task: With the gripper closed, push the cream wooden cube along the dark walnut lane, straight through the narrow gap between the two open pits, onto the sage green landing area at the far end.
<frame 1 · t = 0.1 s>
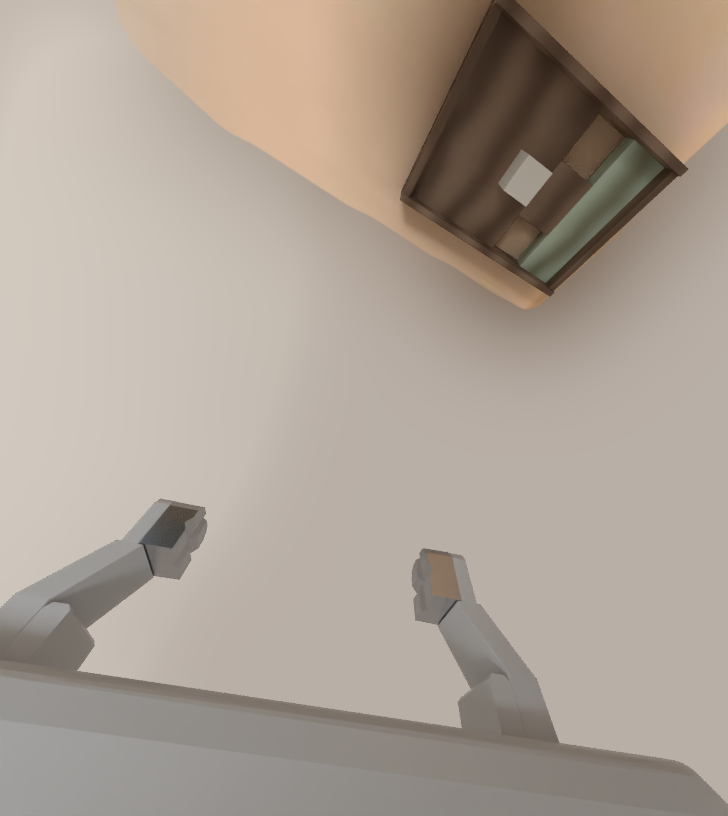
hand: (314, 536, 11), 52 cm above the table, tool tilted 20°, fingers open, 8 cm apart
dark brown rimmed tray: (523, 177, 41), on the table
block: (520, 175, 39), point 2 cm above the table, touching dark brown rimmed tray
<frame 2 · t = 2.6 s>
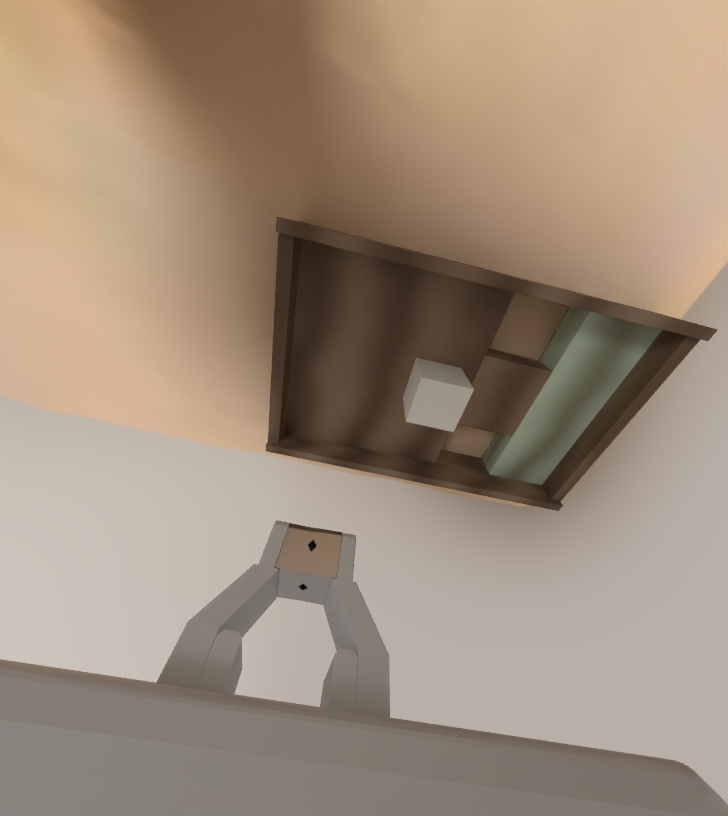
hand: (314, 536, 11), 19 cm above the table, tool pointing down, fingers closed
dark brown rimmed tray: (442, 375, 27), on the table
block: (430, 383, 25), point 2 cm above the table, touching dark brown rimmed tray
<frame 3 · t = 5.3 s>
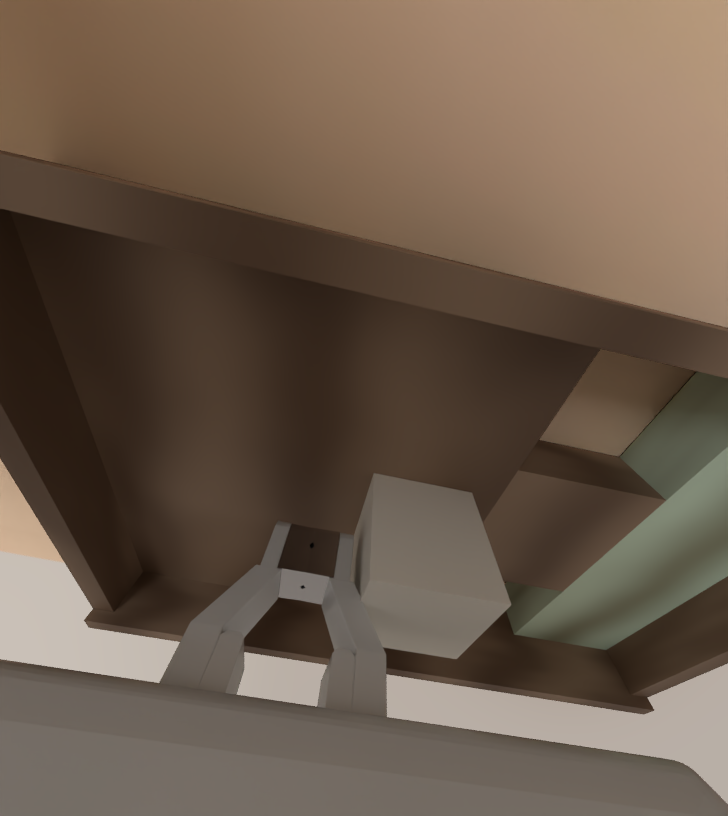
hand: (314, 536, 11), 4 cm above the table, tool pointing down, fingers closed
dark brown rimmed tray: (427, 477, 14), on the table
block: (408, 515, 12), point 3 cm above the table, touching gripper
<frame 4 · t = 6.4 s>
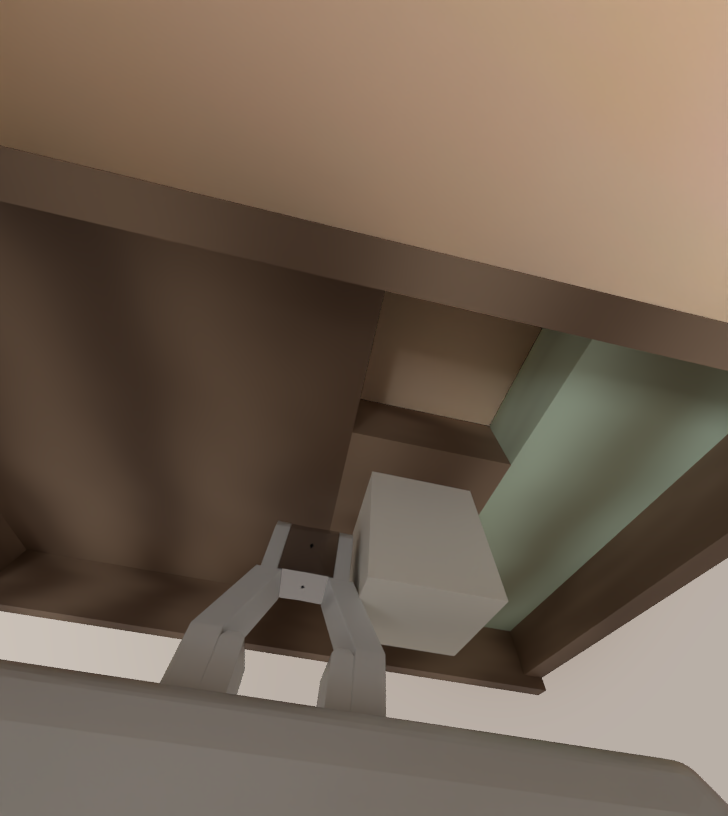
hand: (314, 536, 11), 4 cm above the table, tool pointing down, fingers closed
dark brown rimmed tray: (304, 450, 14), on the table
block: (407, 513, 12), point 2 cm above the table, touching dark brown rimmed tray, gripper
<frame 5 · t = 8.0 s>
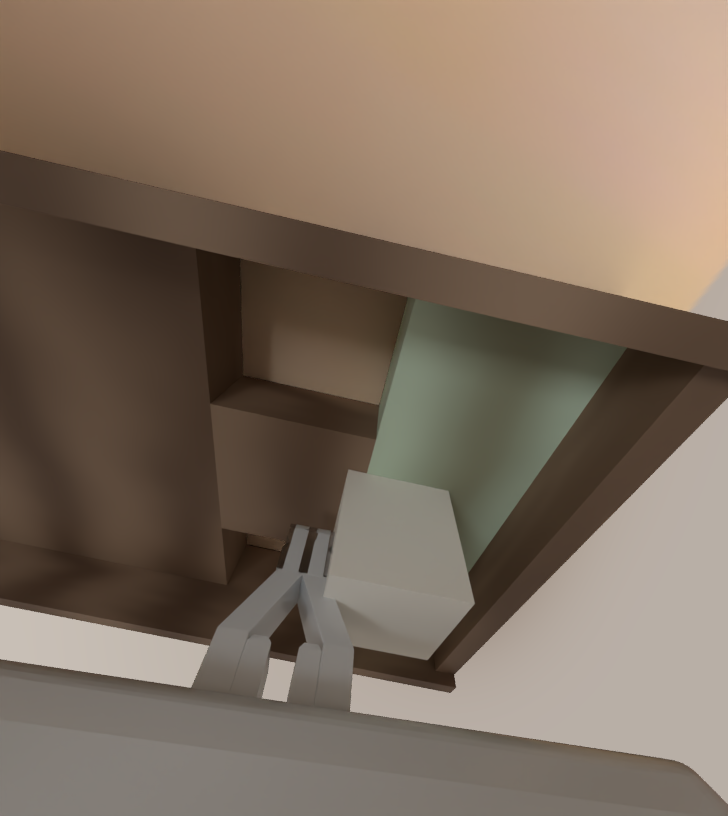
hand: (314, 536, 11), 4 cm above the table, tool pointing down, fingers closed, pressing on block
dark brown rimmed tray: (203, 430, 14), on the table
block: (386, 513, 12), point 2 cm above the table, touching dark brown rimmed tray, gripper
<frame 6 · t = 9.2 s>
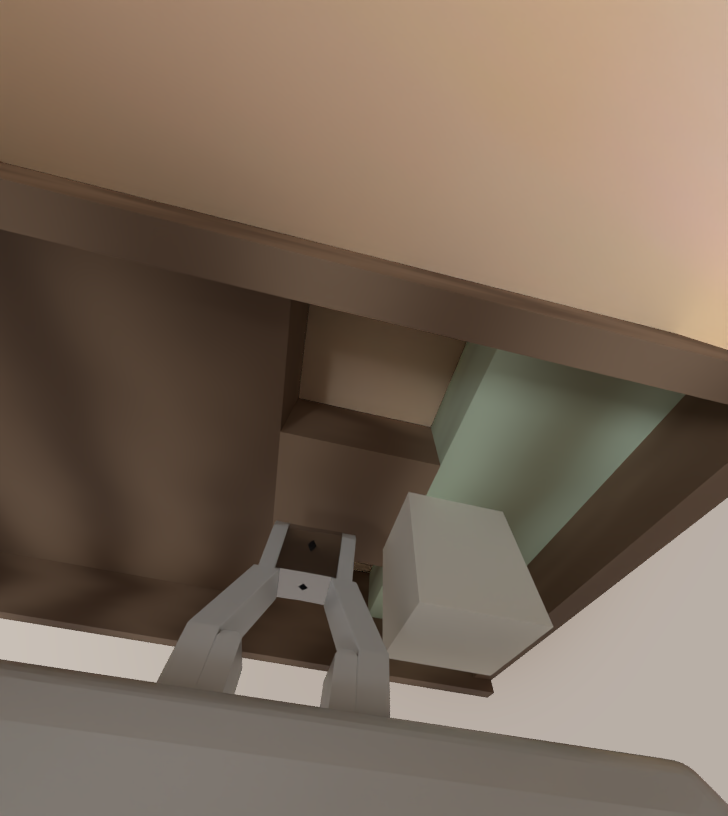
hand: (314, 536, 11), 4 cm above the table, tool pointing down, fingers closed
dark brown rimmed tray: (251, 449, 14), on the table
block: (438, 532, 12), point 2 cm above the table, touching dark brown rimmed tray
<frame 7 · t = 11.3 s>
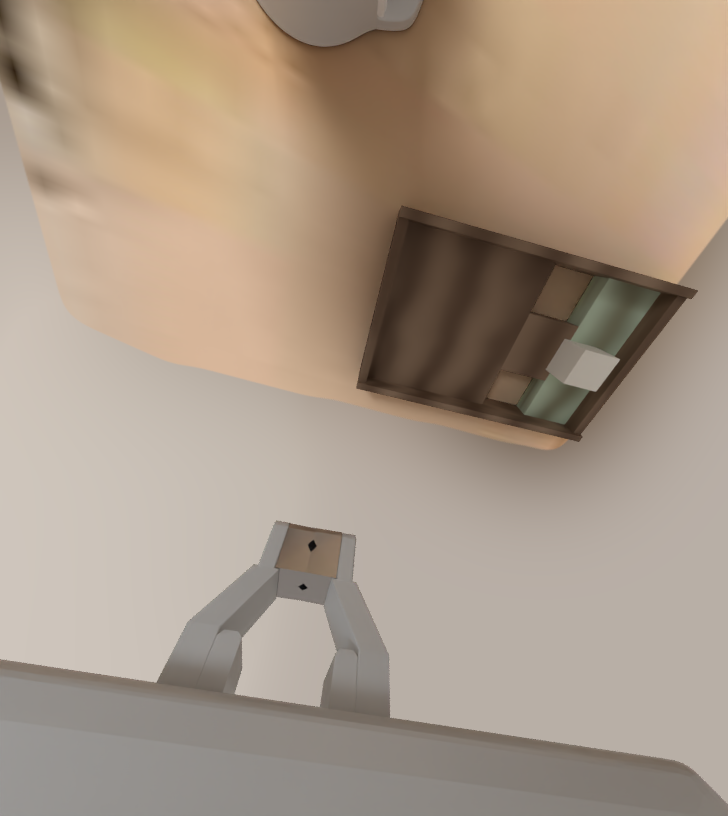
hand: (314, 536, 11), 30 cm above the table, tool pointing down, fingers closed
dark brown rimmed tray: (491, 333, 36), on the table
block: (570, 358, 34), point 2 cm above the table, touching dark brown rimmed tray
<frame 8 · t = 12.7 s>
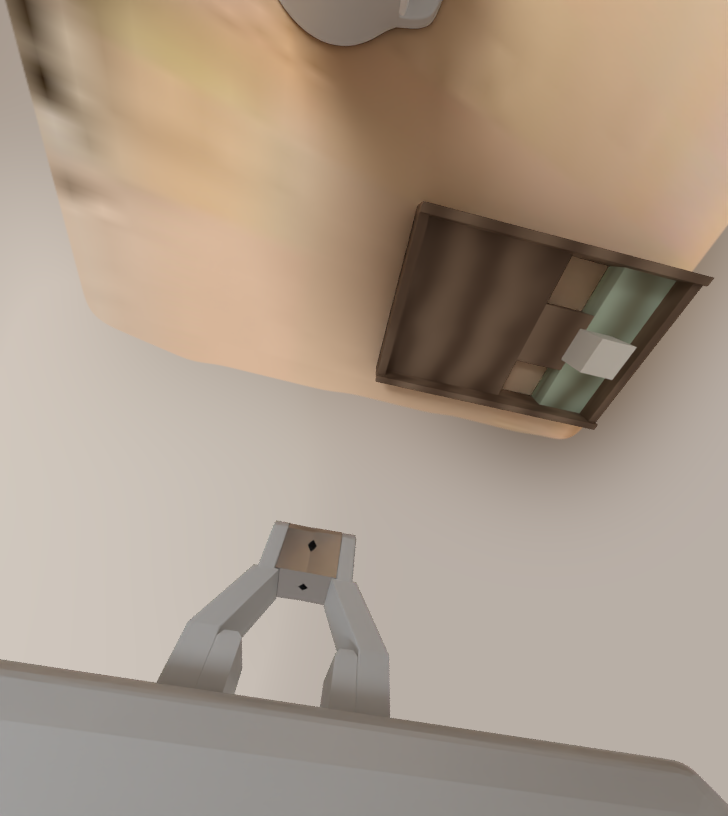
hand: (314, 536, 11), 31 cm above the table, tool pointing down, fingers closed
dark brown rimmed tray: (507, 324, 36), on the table
block: (585, 348, 35), point 2 cm above the table, touching dark brown rimmed tray
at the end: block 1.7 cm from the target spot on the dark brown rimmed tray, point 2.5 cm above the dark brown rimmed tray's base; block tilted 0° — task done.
